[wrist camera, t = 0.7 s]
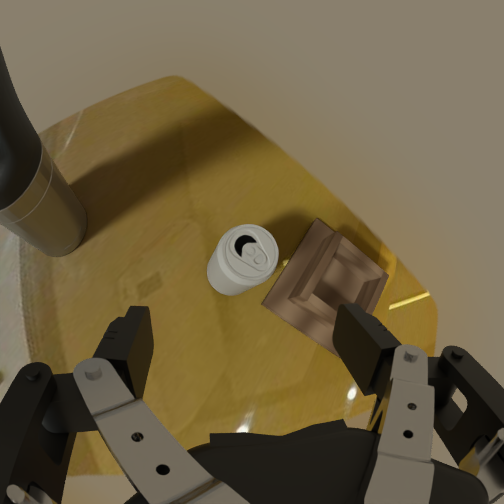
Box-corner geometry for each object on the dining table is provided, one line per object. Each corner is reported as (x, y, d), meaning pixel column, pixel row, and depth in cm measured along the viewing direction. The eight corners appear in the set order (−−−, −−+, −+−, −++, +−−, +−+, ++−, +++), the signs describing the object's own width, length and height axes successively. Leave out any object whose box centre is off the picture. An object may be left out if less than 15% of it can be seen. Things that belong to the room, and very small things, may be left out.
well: (261, 304, 39) (273, 300, 34) (314, 219, 45) (330, 207, 40) (343, 360, 40) (364, 363, 35) (384, 277, 46) (404, 271, 41)
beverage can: (230, 241, 40) (251, 208, 29) (261, 274, 40) (294, 254, 29) (196, 270, 38) (204, 247, 27) (229, 305, 38) (251, 297, 27)
